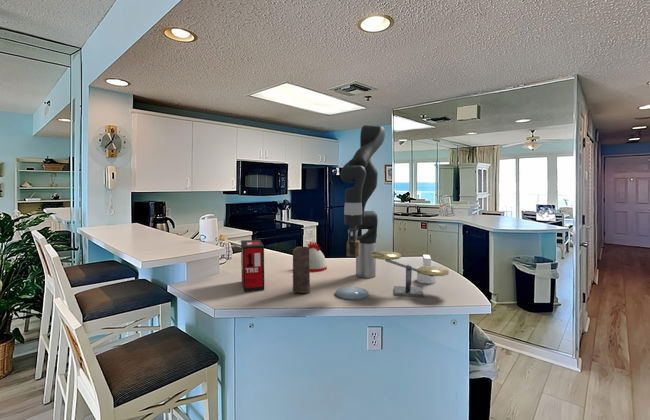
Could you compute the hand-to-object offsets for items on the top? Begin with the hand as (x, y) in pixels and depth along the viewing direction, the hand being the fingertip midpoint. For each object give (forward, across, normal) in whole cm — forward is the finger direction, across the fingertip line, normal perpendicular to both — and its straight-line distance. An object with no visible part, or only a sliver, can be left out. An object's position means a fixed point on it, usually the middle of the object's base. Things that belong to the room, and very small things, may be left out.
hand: (353, 253), depth 148 cm
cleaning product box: (+18, -5, -47) cm, 50 cm away
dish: (+18, 0, 0) cm, 18 cm away
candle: (+18, +1, -22) cm, 29 cm away
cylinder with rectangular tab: (+18, -28, +33) cm, 47 cm away
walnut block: (+1, 0, 0) cm, 1 cm away
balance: (+18, -7, +24) cm, 31 cm away
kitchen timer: (+18, -41, -25) cm, 51 cm away
